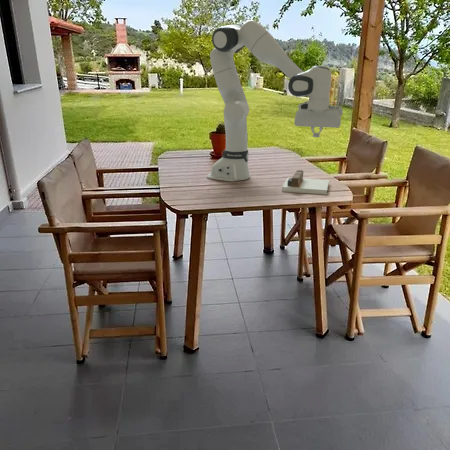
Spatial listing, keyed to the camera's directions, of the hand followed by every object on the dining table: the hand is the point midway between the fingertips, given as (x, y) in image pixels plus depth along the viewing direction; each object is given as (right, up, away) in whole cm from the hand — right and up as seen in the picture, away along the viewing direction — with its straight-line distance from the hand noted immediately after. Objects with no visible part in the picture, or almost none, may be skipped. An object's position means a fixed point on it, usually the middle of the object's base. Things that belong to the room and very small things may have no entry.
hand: (316, 136), depth 184 cm
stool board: (-3, -22, +8) cm, 24 cm away
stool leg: (-7, -20, +9) cm, 23 cm away
